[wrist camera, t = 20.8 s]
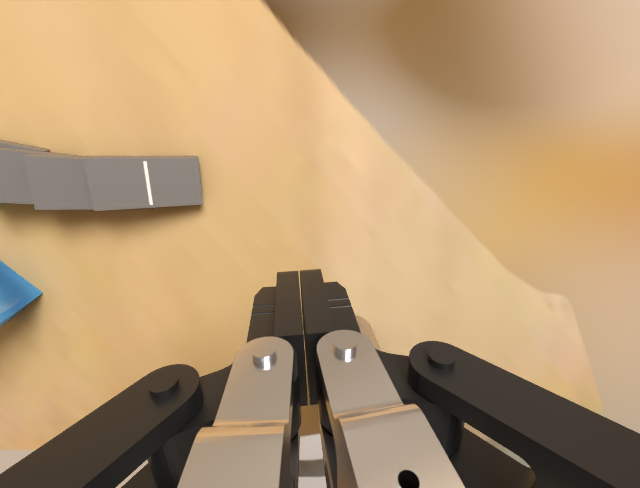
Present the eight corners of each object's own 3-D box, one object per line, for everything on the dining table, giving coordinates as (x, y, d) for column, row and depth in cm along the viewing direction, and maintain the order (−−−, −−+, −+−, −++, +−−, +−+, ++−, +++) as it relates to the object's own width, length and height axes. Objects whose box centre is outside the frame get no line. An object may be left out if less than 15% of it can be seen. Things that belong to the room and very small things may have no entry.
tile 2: (153, 209, 34) (34, 209, 30) (153, 204, 36) (40, 205, 31) (149, 162, 33) (23, 156, 28) (149, 159, 34) (29, 153, 30)
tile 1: (202, 204, 35) (93, 211, 31) (200, 200, 36) (96, 206, 32) (198, 157, 33) (82, 158, 29) (196, 156, 34) (85, 156, 30)
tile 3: (100, 207, 34) (-31, 201, 29) (102, 203, 35) (-22, 196, 30) (98, 160, 32) (-41, 145, 27) (100, 158, 33) (-32, 143, 29)
